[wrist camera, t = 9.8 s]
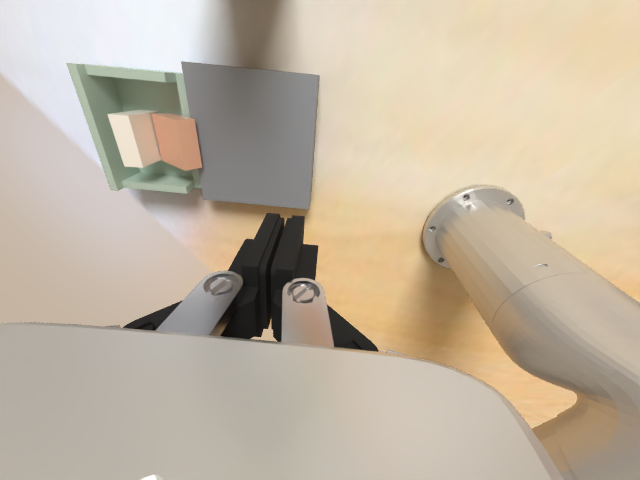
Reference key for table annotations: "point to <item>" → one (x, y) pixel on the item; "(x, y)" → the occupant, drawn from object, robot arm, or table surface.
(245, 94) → the slate board
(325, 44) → the table surface
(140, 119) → the cream tile
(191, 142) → the terracotta tile
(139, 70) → the bin
